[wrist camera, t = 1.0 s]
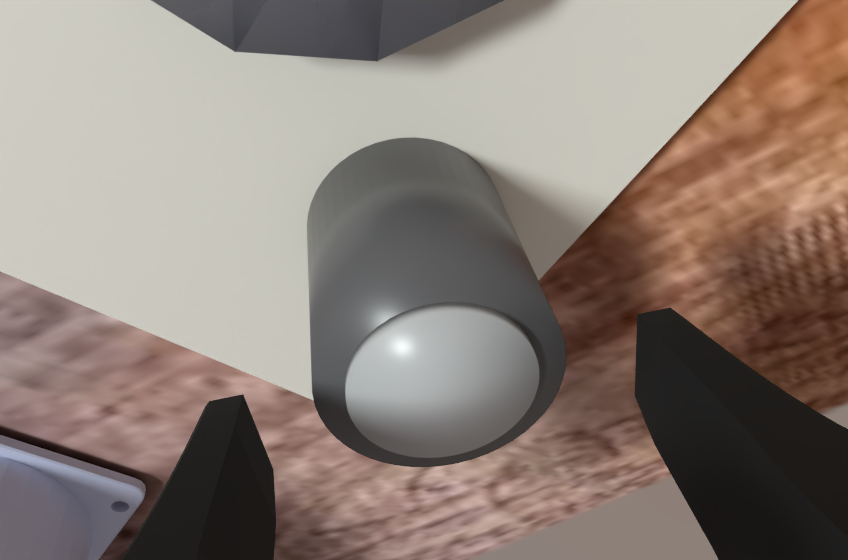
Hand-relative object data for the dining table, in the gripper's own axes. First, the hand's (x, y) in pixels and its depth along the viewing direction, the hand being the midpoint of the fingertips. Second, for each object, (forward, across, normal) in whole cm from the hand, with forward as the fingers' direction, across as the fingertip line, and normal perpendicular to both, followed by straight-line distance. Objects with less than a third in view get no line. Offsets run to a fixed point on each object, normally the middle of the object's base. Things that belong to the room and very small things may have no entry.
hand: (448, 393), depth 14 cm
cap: (+6, 0, 0) cm, 6 cm away
